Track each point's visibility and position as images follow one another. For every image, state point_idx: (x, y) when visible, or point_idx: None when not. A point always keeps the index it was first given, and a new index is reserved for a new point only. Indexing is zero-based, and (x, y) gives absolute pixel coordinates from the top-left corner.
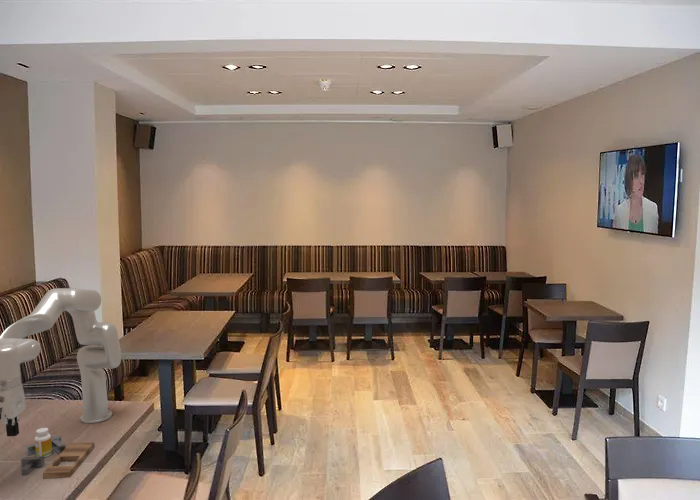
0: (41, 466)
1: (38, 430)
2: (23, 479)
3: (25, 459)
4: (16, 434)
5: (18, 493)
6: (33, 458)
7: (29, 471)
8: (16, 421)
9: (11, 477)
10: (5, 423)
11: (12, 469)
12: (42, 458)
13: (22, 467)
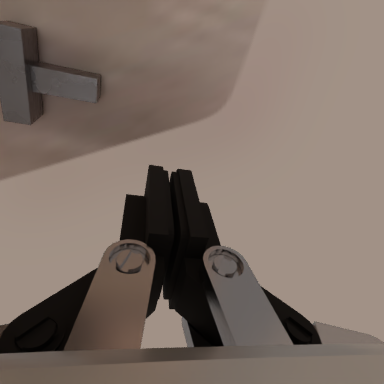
0: (35, 30)
1: None
2: (135, 82)
3: (27, 107)
4: (190, 174)
5: (234, 71)
6: (15, 73)
7: (86, 72)
8: (154, 259)
9: (113, 128)
10: (372, 342)
11: (53, 143)
12: (9, 25)
13: (42, 112)
